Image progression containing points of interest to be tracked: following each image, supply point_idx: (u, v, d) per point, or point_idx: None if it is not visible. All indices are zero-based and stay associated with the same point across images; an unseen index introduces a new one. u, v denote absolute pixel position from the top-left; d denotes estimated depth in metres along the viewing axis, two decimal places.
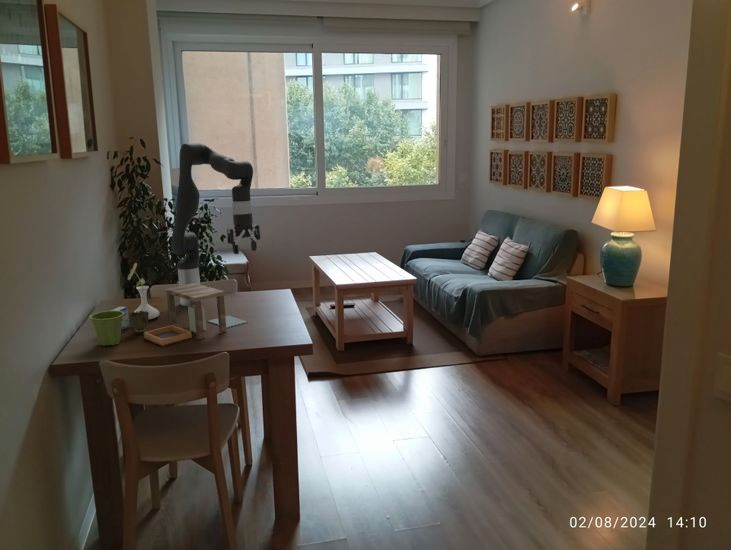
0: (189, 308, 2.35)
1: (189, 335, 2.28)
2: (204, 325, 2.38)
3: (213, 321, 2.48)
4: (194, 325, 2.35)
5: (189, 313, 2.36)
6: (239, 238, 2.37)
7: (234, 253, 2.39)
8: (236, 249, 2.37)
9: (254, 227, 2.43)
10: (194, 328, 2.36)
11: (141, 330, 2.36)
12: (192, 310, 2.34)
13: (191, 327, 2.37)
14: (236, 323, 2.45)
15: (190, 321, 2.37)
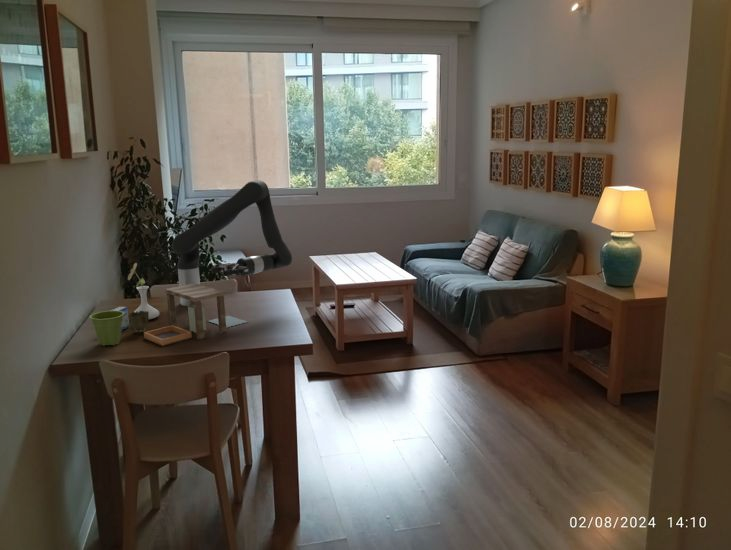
0: (189, 308, 2.35)
1: (189, 335, 2.28)
2: (204, 325, 2.38)
3: (213, 321, 2.48)
4: (194, 325, 2.35)
5: (189, 313, 2.36)
6: None
7: (224, 271, 2.38)
8: (228, 274, 2.40)
9: None
10: (194, 328, 2.36)
11: (141, 330, 2.36)
12: (192, 310, 2.34)
13: (191, 327, 2.37)
14: (236, 323, 2.45)
15: (190, 321, 2.37)
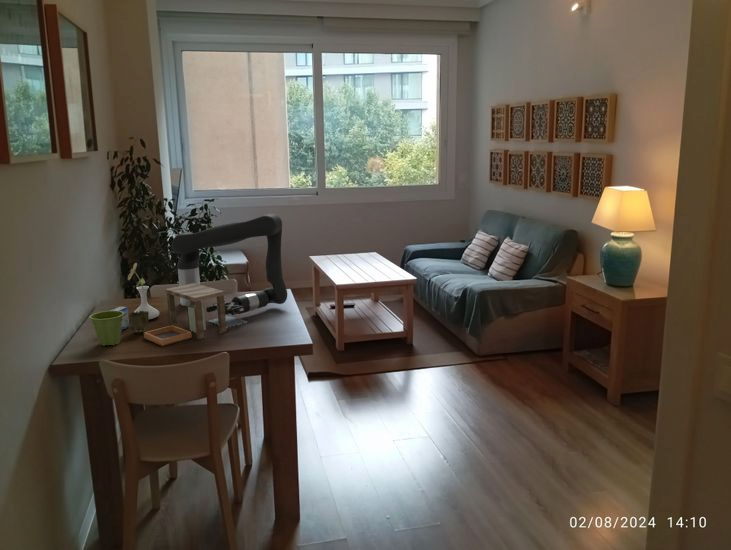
0: (189, 308, 2.35)
1: (189, 335, 2.28)
2: (204, 325, 2.38)
3: (213, 321, 2.48)
4: (194, 325, 2.35)
5: (189, 313, 2.36)
6: None
7: None
8: None
9: None
10: (194, 328, 2.36)
11: (141, 330, 2.36)
12: (192, 310, 2.34)
13: (191, 327, 2.37)
14: (236, 323, 2.45)
15: (190, 321, 2.37)
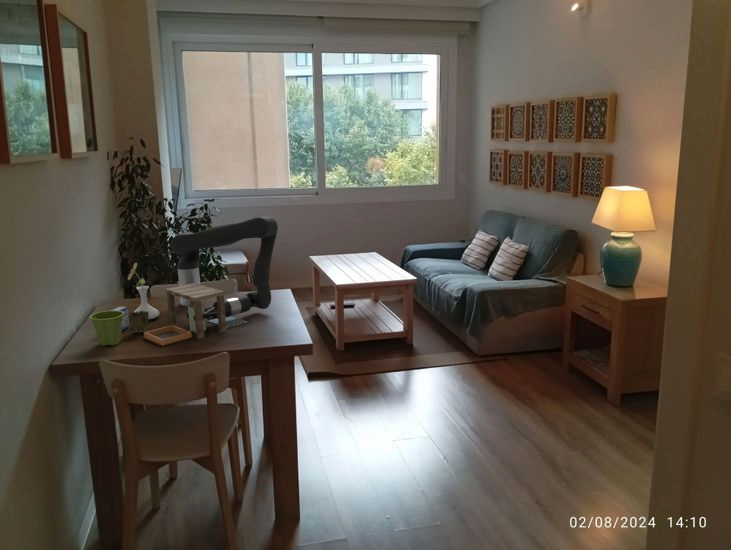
0: (189, 308, 2.35)
1: (189, 335, 2.28)
2: (204, 325, 2.38)
3: (213, 321, 2.48)
4: (194, 325, 2.35)
5: (189, 313, 2.36)
6: None
7: (194, 316, 2.33)
8: None
9: None
10: (194, 328, 2.36)
11: (141, 330, 2.36)
12: (192, 310, 2.34)
13: (191, 327, 2.37)
14: (236, 323, 2.45)
15: (190, 321, 2.37)
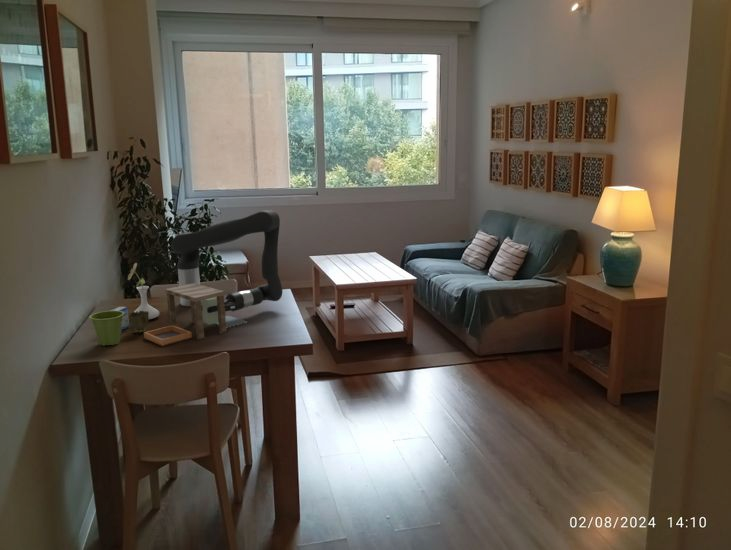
0: (203, 300, 2.40)
1: (189, 335, 2.28)
2: (217, 317, 2.42)
3: None
4: (208, 317, 2.39)
5: (203, 305, 2.40)
6: None
7: (208, 308, 2.37)
8: (212, 311, 2.39)
9: None
10: (208, 320, 2.40)
11: (141, 330, 2.36)
12: (206, 302, 2.38)
13: (205, 319, 2.41)
14: (236, 323, 2.45)
15: (204, 313, 2.41)
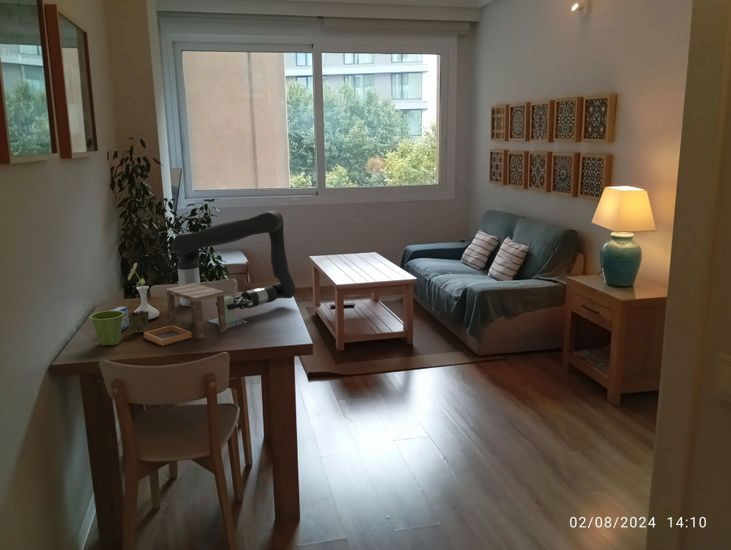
0: None
1: (189, 335, 2.28)
2: (233, 316, 2.48)
3: (213, 321, 2.48)
4: None
5: None
6: None
7: (228, 305, 2.42)
8: (232, 308, 2.44)
9: None
10: None
11: (141, 330, 2.36)
12: None
13: None
14: (236, 323, 2.45)
15: None
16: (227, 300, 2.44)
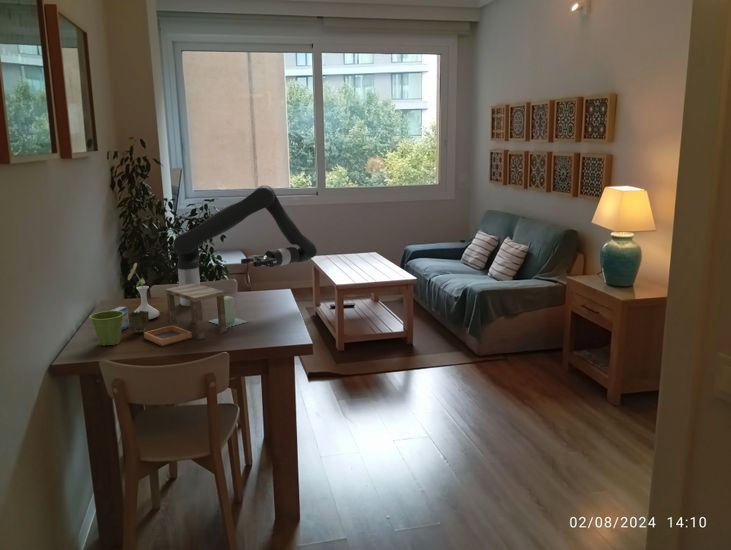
0: None
1: (189, 335, 2.28)
2: (233, 316, 2.48)
3: (213, 321, 2.48)
4: None
5: None
6: None
7: (254, 262, 2.49)
8: (258, 265, 2.50)
9: None
10: None
11: (141, 330, 2.36)
12: None
13: None
14: (236, 323, 2.45)
15: None
16: (227, 300, 2.44)
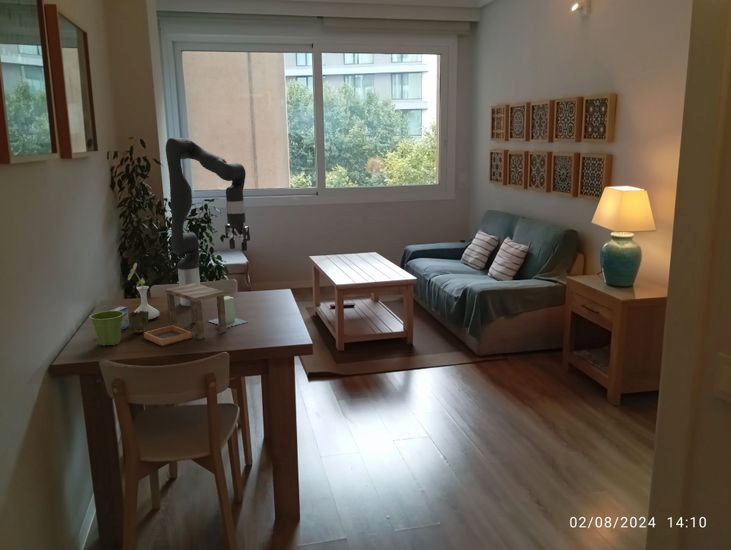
0: None
1: (189, 335, 2.28)
2: (233, 316, 2.48)
3: (213, 321, 2.48)
4: None
5: None
6: None
7: (243, 250, 2.51)
8: None
9: None
10: None
11: (141, 330, 2.36)
12: None
13: None
14: (236, 323, 2.45)
15: None
16: (227, 300, 2.44)
